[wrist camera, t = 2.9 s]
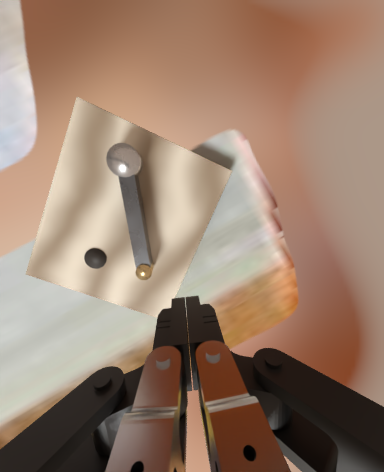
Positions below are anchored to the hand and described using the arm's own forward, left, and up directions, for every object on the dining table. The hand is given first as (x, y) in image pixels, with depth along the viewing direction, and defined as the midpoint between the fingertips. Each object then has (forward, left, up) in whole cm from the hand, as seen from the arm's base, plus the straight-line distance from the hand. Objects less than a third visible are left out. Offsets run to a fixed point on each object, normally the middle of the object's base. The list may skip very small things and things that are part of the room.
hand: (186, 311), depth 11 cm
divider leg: (-6, +2, -14) cm, 15 cm away
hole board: (-7, 0, -16) cm, 17 cm away
